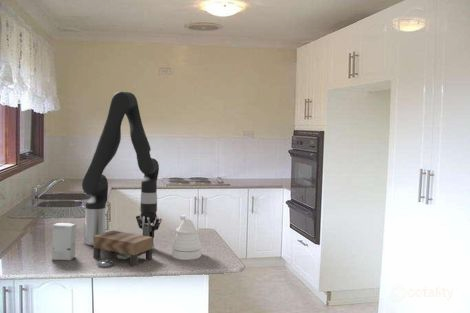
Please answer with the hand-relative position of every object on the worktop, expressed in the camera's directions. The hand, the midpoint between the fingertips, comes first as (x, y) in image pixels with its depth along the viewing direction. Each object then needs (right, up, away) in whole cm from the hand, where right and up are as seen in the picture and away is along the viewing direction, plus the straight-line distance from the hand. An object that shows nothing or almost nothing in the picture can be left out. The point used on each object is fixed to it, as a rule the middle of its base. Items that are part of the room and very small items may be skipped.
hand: (148, 238), depth 216 cm
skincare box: (-33, -6, -17) cm, 38 cm away
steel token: (-13, -7, -25) cm, 29 cm away
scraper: (-4, -5, -7) cm, 10 cm away
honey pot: (+19, -6, -9) cm, 21 cm away
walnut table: (-8, -6, -15) cm, 18 cm away
